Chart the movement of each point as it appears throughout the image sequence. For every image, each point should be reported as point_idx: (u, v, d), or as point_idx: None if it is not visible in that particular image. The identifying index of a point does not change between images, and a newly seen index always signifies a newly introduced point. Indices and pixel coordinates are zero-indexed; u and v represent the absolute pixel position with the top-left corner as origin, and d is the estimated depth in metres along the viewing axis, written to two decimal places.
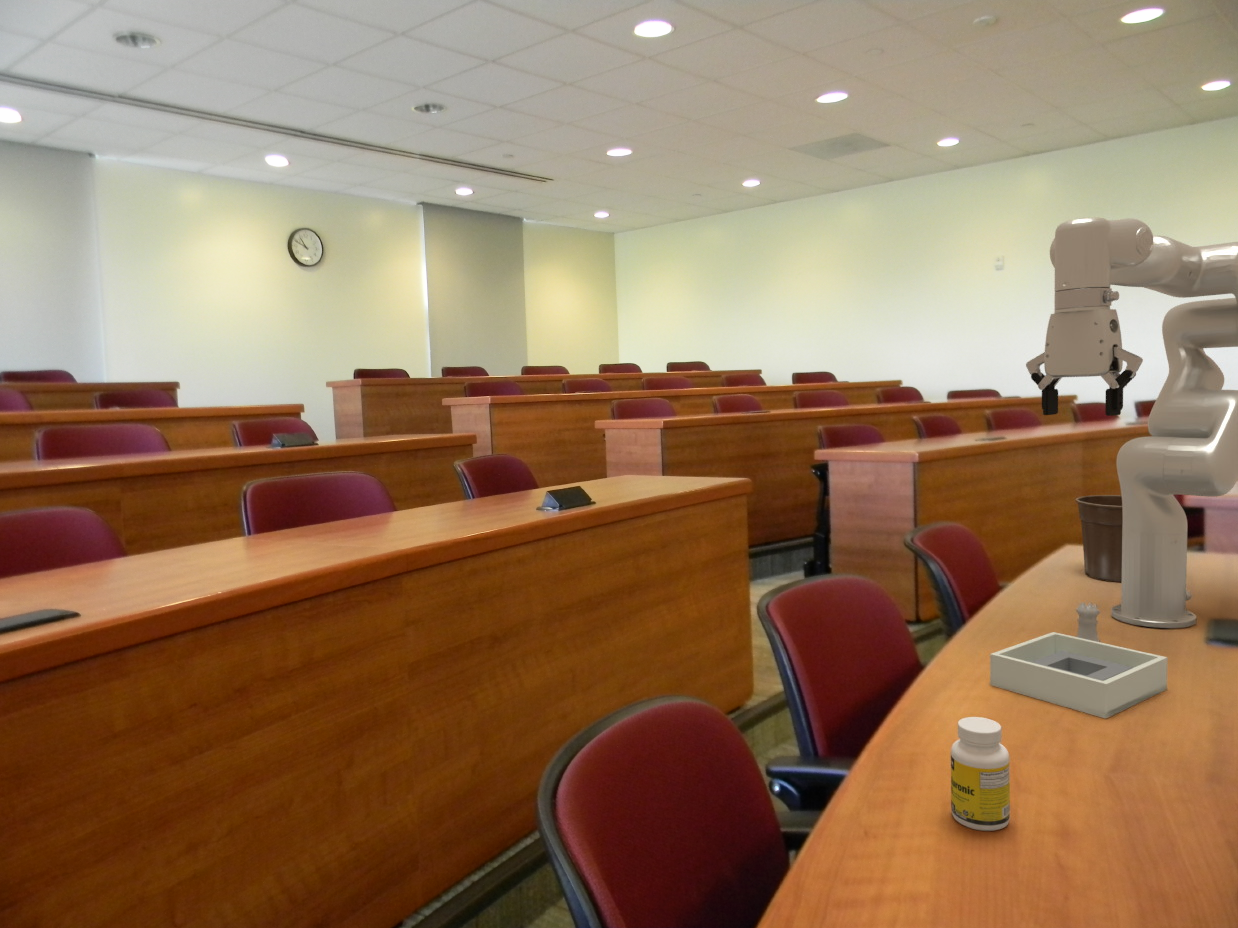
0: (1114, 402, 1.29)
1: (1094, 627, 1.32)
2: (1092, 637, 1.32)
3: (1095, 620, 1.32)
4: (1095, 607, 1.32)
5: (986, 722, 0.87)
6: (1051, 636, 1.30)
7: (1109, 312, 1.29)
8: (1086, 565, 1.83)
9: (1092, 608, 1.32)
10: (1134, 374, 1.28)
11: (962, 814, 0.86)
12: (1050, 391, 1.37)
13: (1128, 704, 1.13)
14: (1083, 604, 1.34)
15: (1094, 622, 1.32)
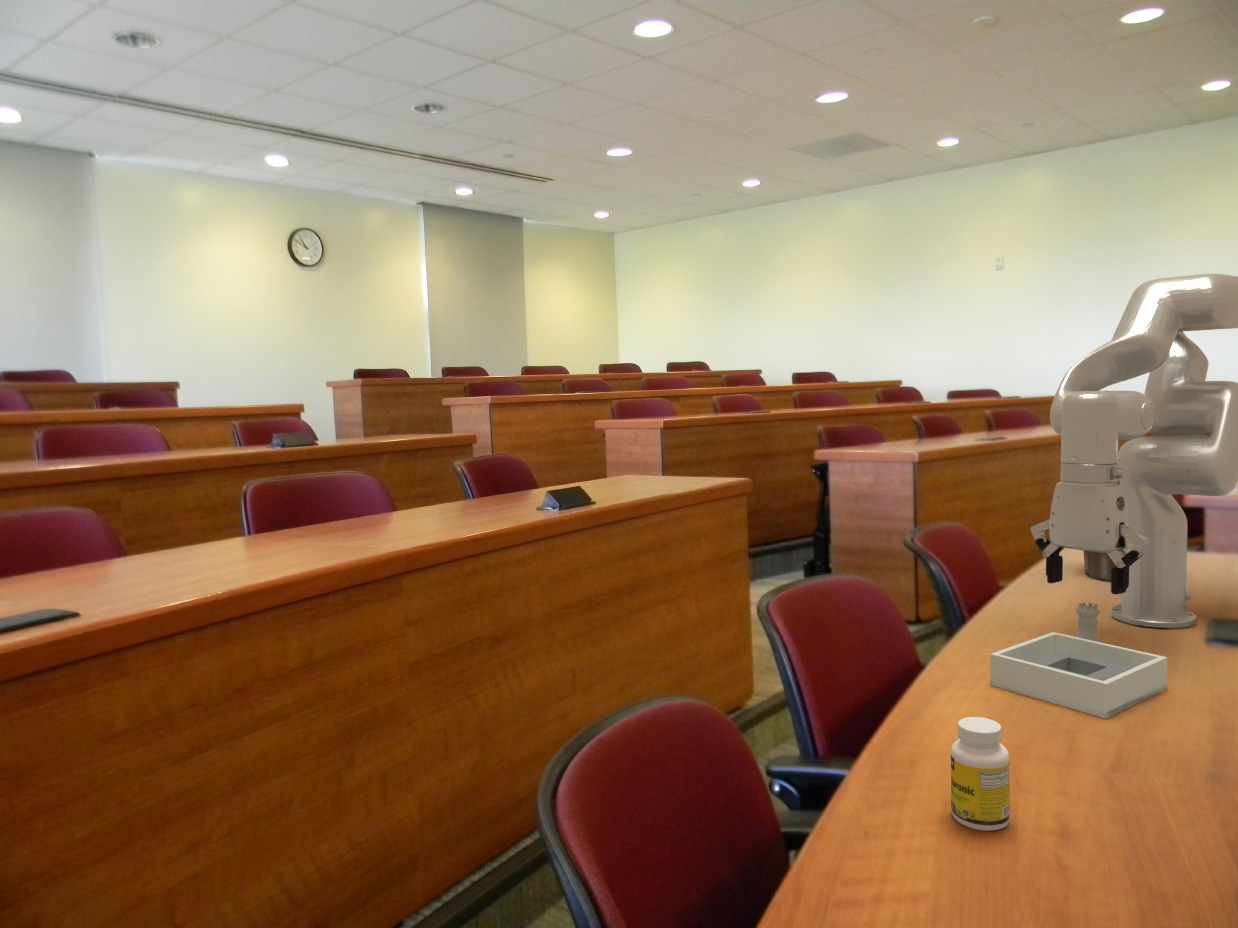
0: (1120, 581, 1.27)
1: (1094, 627, 1.32)
2: (1092, 637, 1.32)
3: (1095, 620, 1.32)
4: (1095, 607, 1.32)
5: (986, 722, 0.87)
6: (1051, 636, 1.30)
7: (1116, 489, 1.27)
8: (1086, 565, 1.83)
9: (1092, 608, 1.32)
10: (1141, 555, 1.26)
11: (962, 814, 0.86)
12: (1055, 559, 1.35)
13: (1128, 704, 1.13)
14: (1083, 604, 1.34)
15: (1094, 622, 1.32)
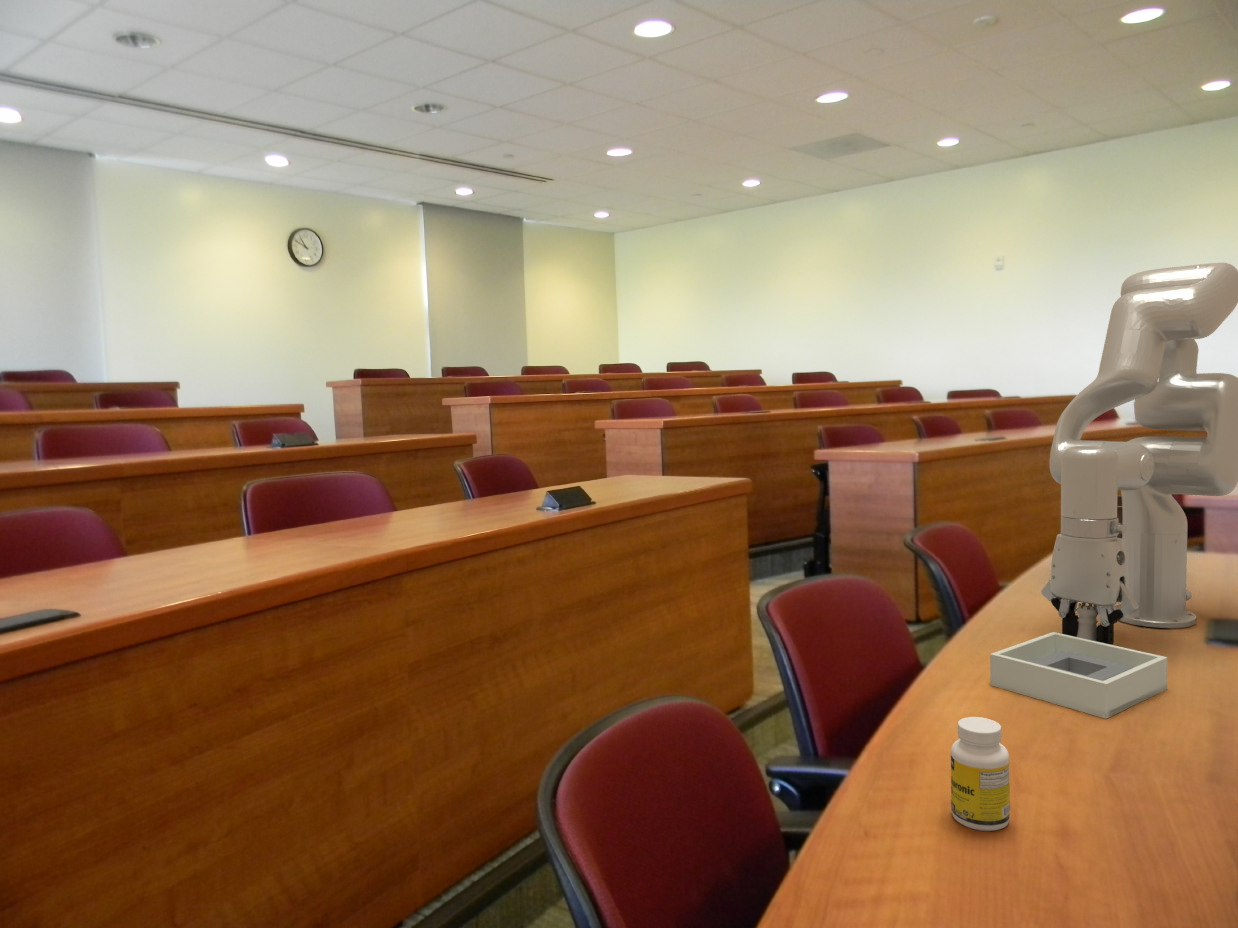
0: (1105, 638, 1.31)
1: (1094, 627, 1.32)
2: (1092, 637, 1.32)
3: (1095, 620, 1.32)
4: (1095, 607, 1.32)
5: (986, 722, 0.87)
6: (1051, 636, 1.30)
7: (1116, 544, 1.28)
8: None
9: (1092, 608, 1.32)
10: (1124, 615, 1.29)
11: (962, 814, 0.86)
12: (1071, 620, 1.35)
13: (1128, 704, 1.13)
14: (1083, 604, 1.34)
15: (1094, 622, 1.32)
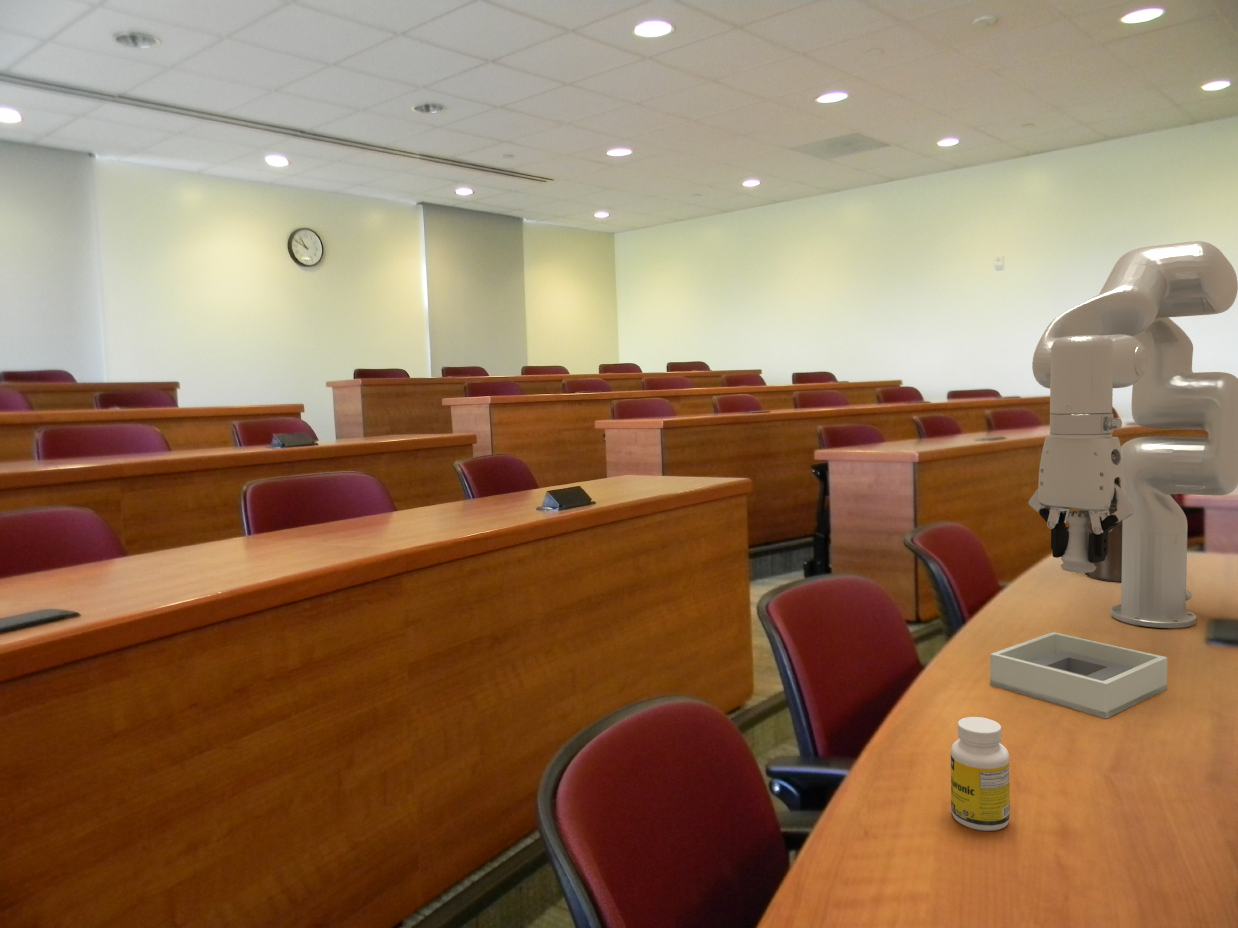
0: (1098, 548, 1.18)
1: (1086, 537, 1.19)
2: (1084, 548, 1.19)
3: (1087, 529, 1.19)
4: (1087, 514, 1.19)
5: (986, 722, 0.87)
6: (1051, 636, 1.30)
7: (1110, 441, 1.15)
8: None
9: (1084, 515, 1.19)
10: (1119, 521, 1.16)
11: (962, 814, 0.86)
12: (1061, 531, 1.22)
13: (1128, 704, 1.13)
14: (1074, 513, 1.21)
15: (1086, 531, 1.19)
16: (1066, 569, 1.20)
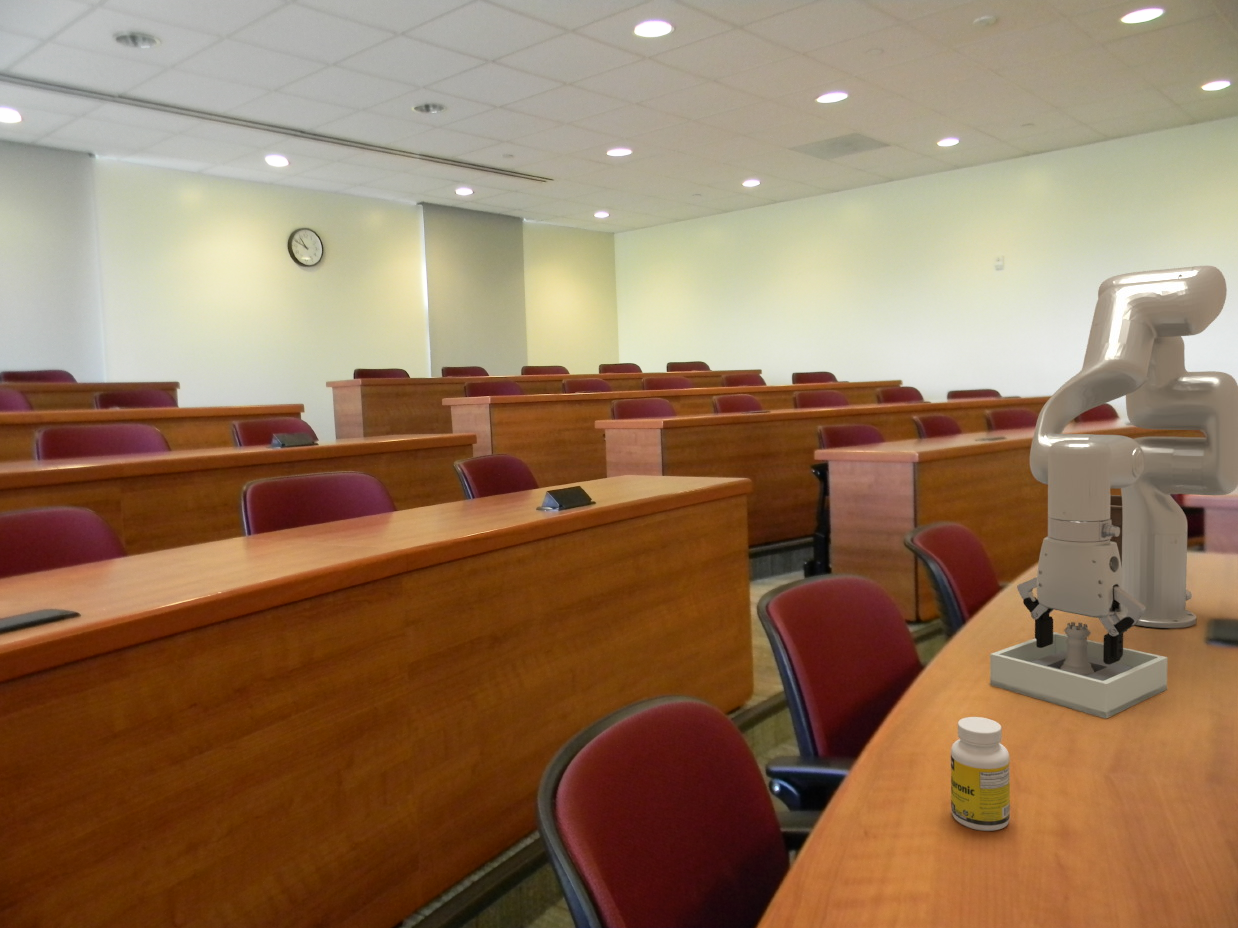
0: (1113, 649, 1.16)
1: (1084, 649, 1.20)
2: (1082, 660, 1.20)
3: (1085, 642, 1.20)
4: (1085, 627, 1.20)
5: (986, 722, 0.87)
6: None
7: (1109, 549, 1.15)
8: None
9: (1082, 628, 1.19)
10: (1135, 622, 1.14)
11: (962, 814, 0.86)
12: (1044, 622, 1.24)
13: (1128, 704, 1.13)
14: (1072, 624, 1.22)
15: (1084, 644, 1.19)
16: None
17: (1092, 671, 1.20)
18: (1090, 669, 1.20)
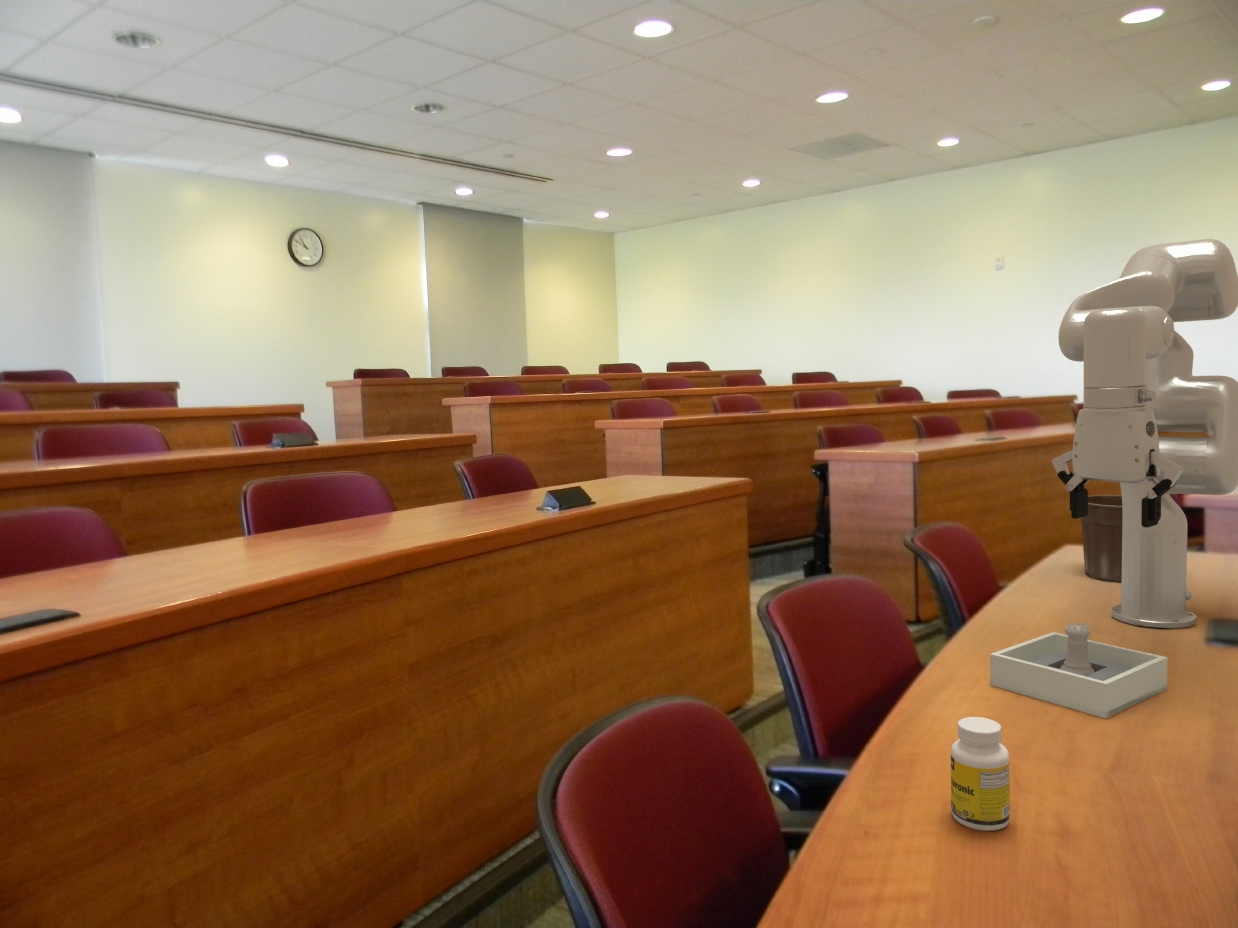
0: (1151, 513, 1.17)
1: (1085, 649, 1.20)
2: (1083, 660, 1.20)
3: (1086, 642, 1.20)
4: (1086, 627, 1.20)
5: (986, 722, 0.87)
6: (1051, 636, 1.30)
7: (1145, 414, 1.17)
8: (1086, 565, 1.83)
9: (1082, 628, 1.19)
10: (1174, 483, 1.15)
11: (962, 814, 0.86)
12: (1079, 493, 1.25)
13: (1128, 704, 1.13)
14: (1073, 624, 1.22)
15: (1084, 644, 1.19)
16: None
17: (1092, 671, 1.20)
18: (1090, 669, 1.20)
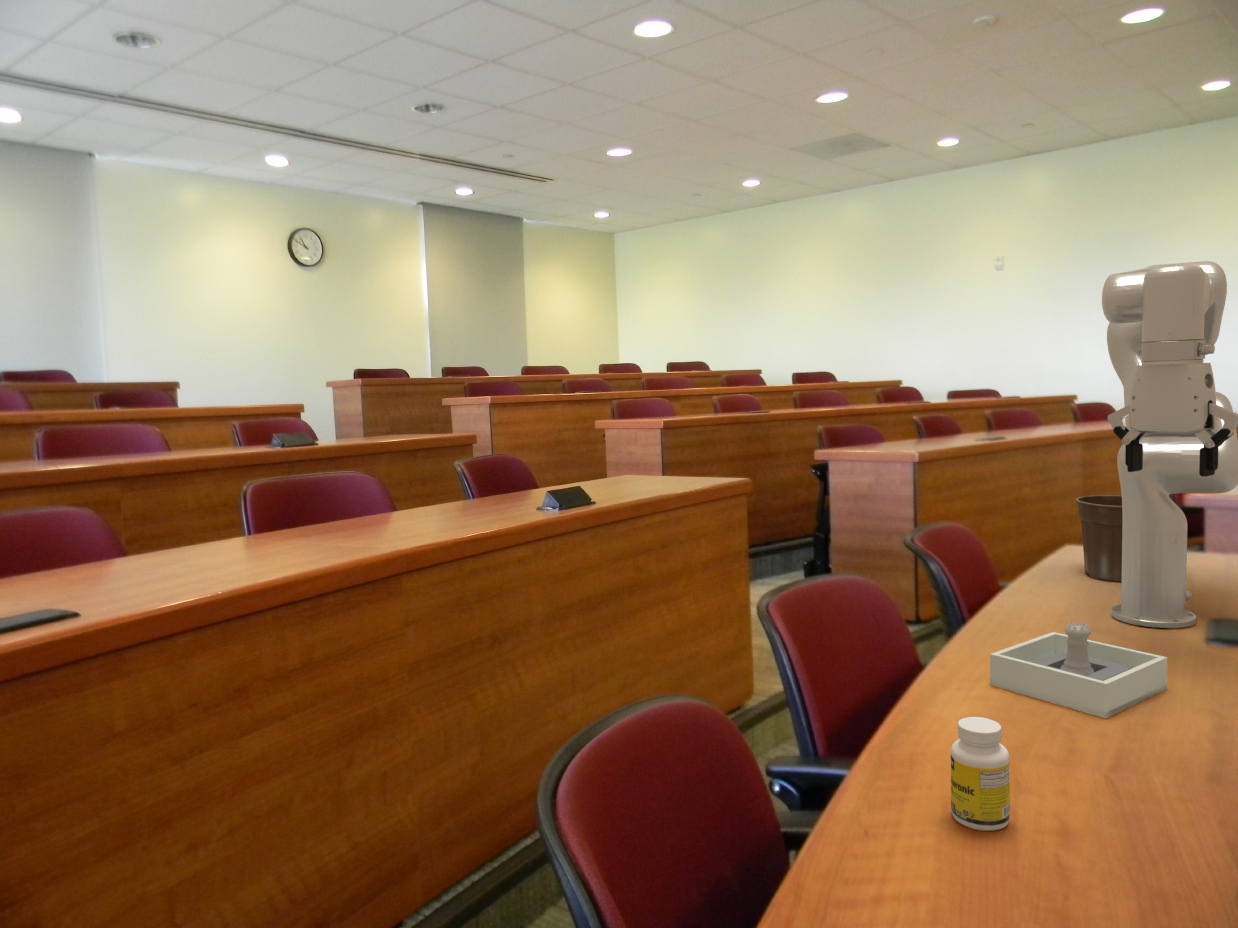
0: (1209, 462, 1.21)
1: (1084, 650, 1.20)
2: (1082, 661, 1.20)
3: (1086, 642, 1.20)
4: (1086, 627, 1.20)
5: (986, 722, 0.87)
6: (1051, 636, 1.30)
7: (1204, 366, 1.21)
8: (1086, 565, 1.83)
9: (1082, 629, 1.19)
10: (1232, 433, 1.20)
11: (962, 814, 0.86)
12: (1135, 446, 1.29)
13: (1128, 704, 1.13)
14: (1073, 624, 1.22)
15: (1084, 644, 1.19)
16: None
17: (1092, 671, 1.20)
18: (1090, 669, 1.20)
